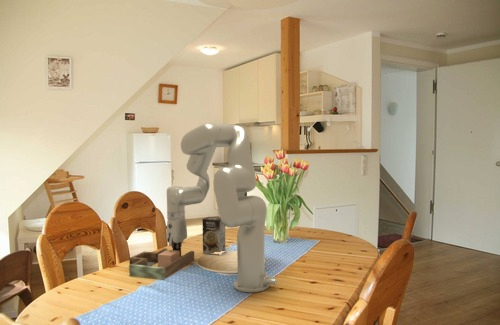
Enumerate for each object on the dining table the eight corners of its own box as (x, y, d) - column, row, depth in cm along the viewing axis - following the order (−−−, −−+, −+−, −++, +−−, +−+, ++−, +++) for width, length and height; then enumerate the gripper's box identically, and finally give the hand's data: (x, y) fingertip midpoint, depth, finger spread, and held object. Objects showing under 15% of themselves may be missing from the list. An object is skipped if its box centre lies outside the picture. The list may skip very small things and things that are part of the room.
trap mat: (155, 263, 157) (155, 262, 157) (147, 267, 151) (147, 267, 151) (145, 262, 158) (145, 261, 158) (136, 266, 153) (136, 265, 153)
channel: (194, 260, 160) (194, 251, 160) (163, 279, 137) (162, 268, 137) (153, 256, 167) (152, 247, 167) (116, 274, 144) (116, 263, 144)
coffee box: (202, 253, 170) (201, 218, 169) (209, 250, 176) (208, 216, 175) (220, 255, 166) (219, 220, 166) (226, 251, 172) (225, 217, 172)
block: (179, 262, 158) (179, 250, 158) (171, 267, 151) (170, 255, 151) (167, 261, 160) (167, 249, 159) (158, 266, 153) (157, 254, 152)
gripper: (174, 218, 152) (175, 262, 153) (192, 212, 166) (192, 252, 167) (158, 217, 154) (159, 261, 155) (177, 211, 168) (178, 251, 169)
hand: (177, 256), depth 161 cm, fingers closed
